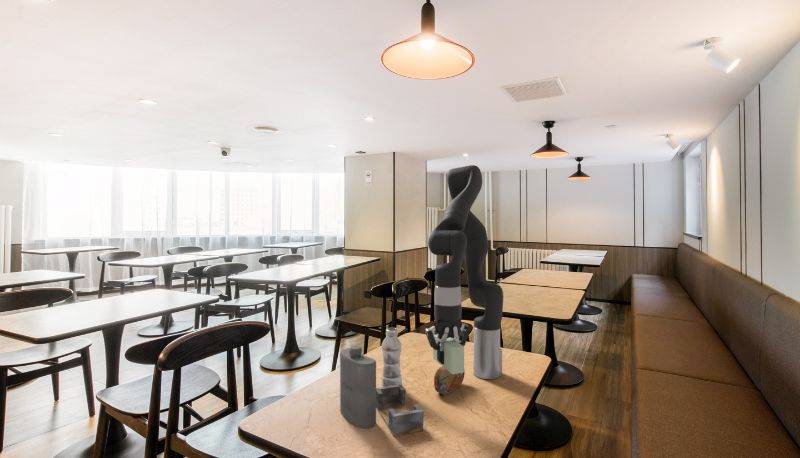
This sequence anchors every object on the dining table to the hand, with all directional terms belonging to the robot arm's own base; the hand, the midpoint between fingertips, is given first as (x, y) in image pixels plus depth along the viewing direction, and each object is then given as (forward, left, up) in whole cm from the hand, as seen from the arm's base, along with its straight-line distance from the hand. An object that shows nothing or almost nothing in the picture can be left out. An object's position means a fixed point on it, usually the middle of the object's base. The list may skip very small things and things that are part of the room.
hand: (447, 361), depth 108 cm
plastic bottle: (+9, -22, -16) cm, 29 cm away
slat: (0, 0, -1) cm, 1 cm away
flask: (+24, -9, -16) cm, 31 cm away
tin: (-9, -16, -16) cm, 25 cm away
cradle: (+13, -5, -16) cm, 21 cm away
